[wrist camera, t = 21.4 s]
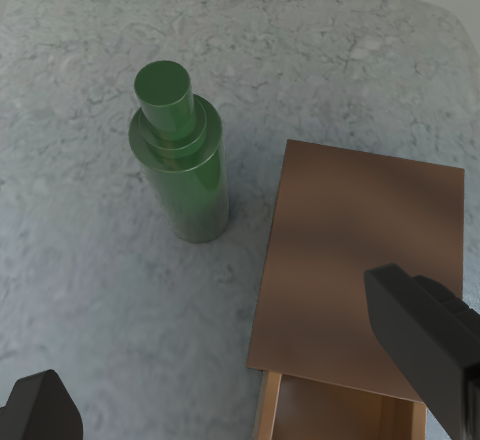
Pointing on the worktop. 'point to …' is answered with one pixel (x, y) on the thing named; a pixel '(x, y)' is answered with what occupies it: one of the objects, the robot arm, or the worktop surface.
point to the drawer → (332, 412)
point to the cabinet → (349, 260)
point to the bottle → (181, 151)
